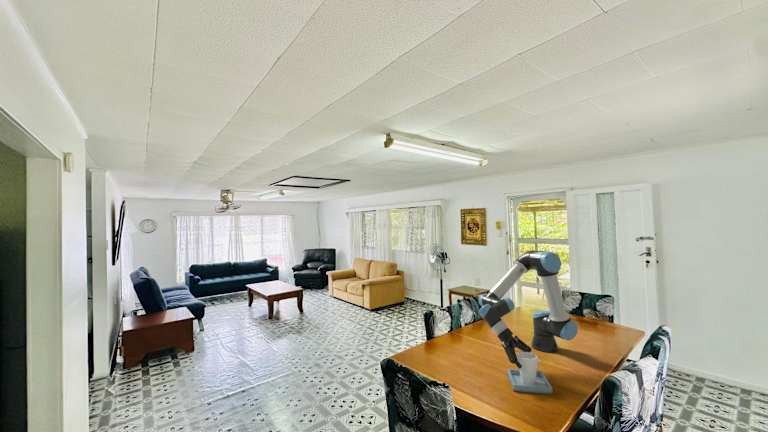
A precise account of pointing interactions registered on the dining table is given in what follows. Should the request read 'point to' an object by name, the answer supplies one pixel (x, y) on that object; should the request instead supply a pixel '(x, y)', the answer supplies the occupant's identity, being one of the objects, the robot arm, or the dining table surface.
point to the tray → (538, 387)
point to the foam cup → (528, 367)
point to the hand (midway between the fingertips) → (532, 369)
